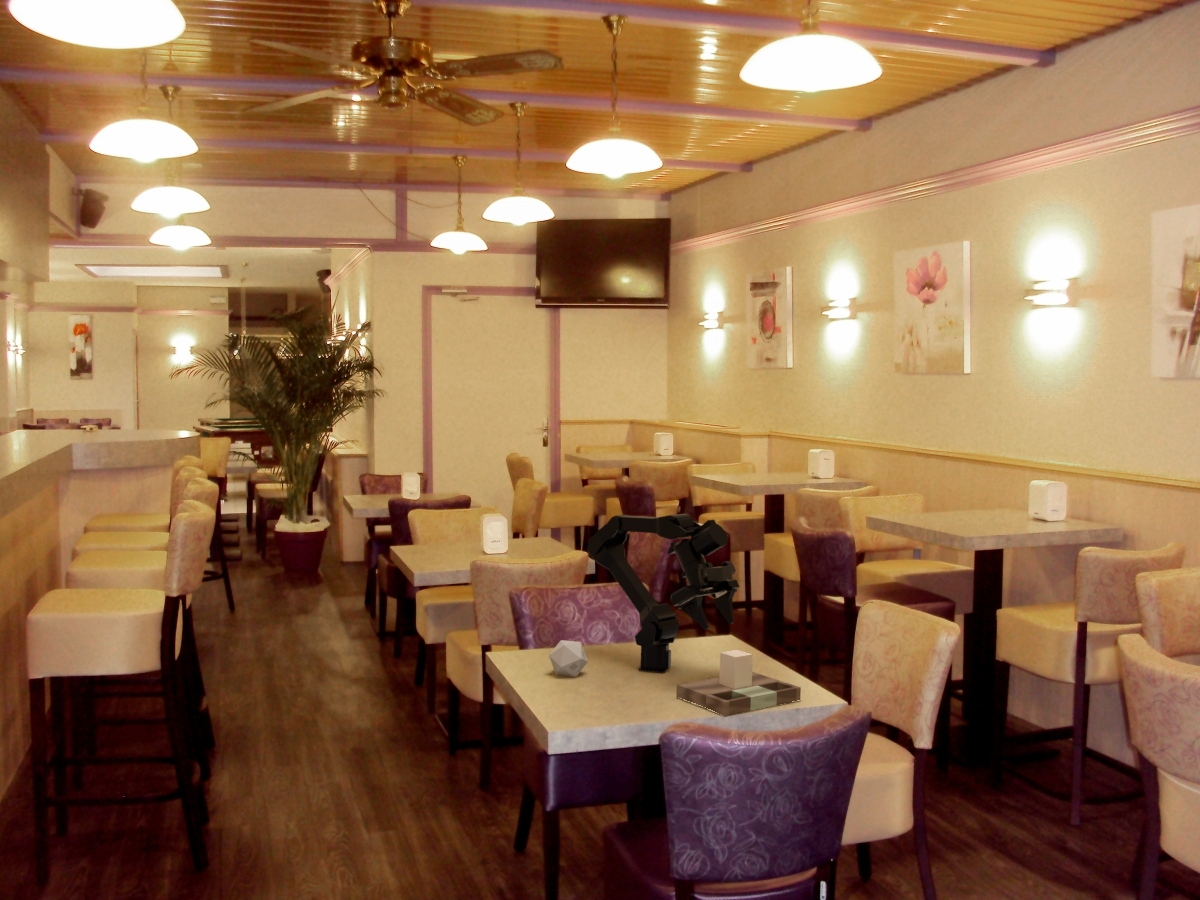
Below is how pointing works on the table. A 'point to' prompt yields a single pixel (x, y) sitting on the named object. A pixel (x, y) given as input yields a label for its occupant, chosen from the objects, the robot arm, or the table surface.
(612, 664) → the table surface
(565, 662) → the die
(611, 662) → the table surface
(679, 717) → the table surface
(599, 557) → the robot arm
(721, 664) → the block
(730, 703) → the brown compartment tray
